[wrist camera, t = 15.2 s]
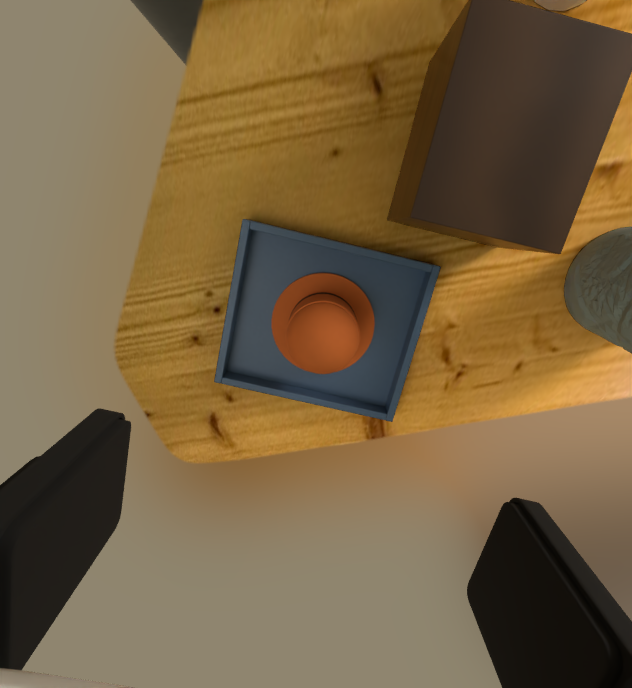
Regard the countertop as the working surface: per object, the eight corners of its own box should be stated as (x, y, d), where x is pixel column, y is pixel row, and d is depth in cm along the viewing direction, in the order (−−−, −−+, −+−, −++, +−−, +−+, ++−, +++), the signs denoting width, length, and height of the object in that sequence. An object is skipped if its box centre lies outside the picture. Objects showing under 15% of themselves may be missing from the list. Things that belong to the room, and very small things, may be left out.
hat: (263, 359, 35) (248, 391, 28) (283, 261, 32) (272, 270, 26) (359, 381, 35) (367, 418, 28) (386, 286, 33) (402, 301, 26)
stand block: (386, 220, 32) (410, 217, 23) (429, 61, 29) (474, -10, 20) (497, 247, 32) (560, 254, 24) (550, 93, 29) (645, 36, 21)
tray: (219, 373, 36) (213, 382, 34) (247, 219, 32) (242, 218, 30) (388, 411, 36) (392, 422, 34) (434, 264, 33) (441, 266, 31)
